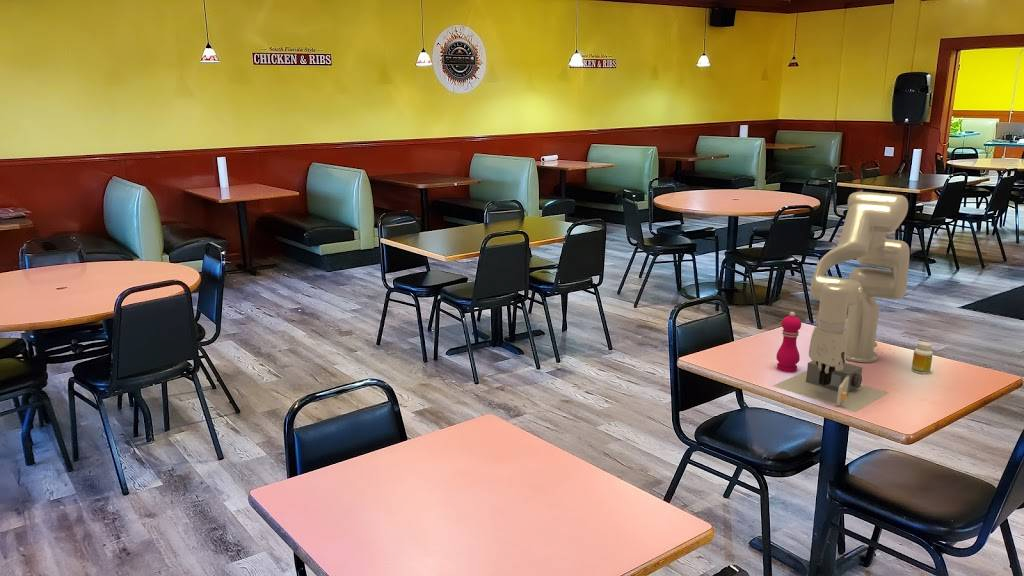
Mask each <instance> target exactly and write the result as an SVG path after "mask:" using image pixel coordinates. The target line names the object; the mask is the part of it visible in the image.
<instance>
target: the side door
mask: <svg viewBox="0 0 1024 576" xmlns="http://www.w3.org/2000/svg"><path fill="white" fill-rule="evenodd" d="M849 382H850V376H849V375H846V378H845V379H844V380H843V382H842V383H841V384H840V386H839V389H838V397H837V405H840V404H841V402H842V401H843V400H844V401H846V399H847V395H848V390H849Z"/></svg>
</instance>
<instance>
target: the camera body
mask: <svg viewBox="0 0 1024 576" xmlns="http://www.w3.org/2000/svg"><path fill="white" fill-rule="evenodd" d="M806 371H807V376H806V382H808V383H811V384H814V385H818V386H821V387H824V388H828V389H831V390H834V391H838V389H839V386H840V384H841V383H842V382H843V380H844V379H845V378H846V375H849V376H850V382H849V390H848V393H849V392H851V391H853V390H855V389H857V388H859V387H860V385H862V381H863V376H862V374H863V367H862V366H858V365H854V364H851V363H847V362H845V364H843V370H841V371H836V370H835V371H834V372H832V377H831V383H830V384H828V385H825V386H823V385H822V384H819V375H820V371H819V370H818V366H817V364H816V363H815V362H814V361H812V360H810V361H809V362H807V367H806Z"/></svg>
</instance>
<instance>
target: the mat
mask: <svg viewBox="0 0 1024 576" xmlns="http://www.w3.org/2000/svg"><path fill="white" fill-rule="evenodd" d="M806 376H807V370H805V371H802V372H801V373H798V374H796V375H793V376H791V377H789V378H785V380H782V381H780V382H778V383H775V384H773V385H772V386H773V387H774V388H775V387H776V388H779V389H781V390H785V391H787V392H791V393H794V394H796V395H800V396H803V397H807V398H809V399H812V400H817V401H819V402H822V403H825V404H829V405H832V406H835V407H837V408H841V409H844V410H848V411H850V412H854V413H856V412H857V411H859V410H861V409H863V408H865V407H866V406H868V405H869V406H870V404H872V403H874V402H875V401H878V400H879V399H881V398H882V397H883V398H884V397H885V396H886V395H888V394H889V392H886V391H883V390H880V389H876V388H873V387H869V386H867V385H863V384H861V385H860V387H859V388H857V389H855V390H853V391H851V392H849V393H848V395H847V399H846V401H844V400H843V401H842V402H841V404H840V405H837V397H838V391H834V390H831V389H828V388H824V387H821V386H818V385H814V384H811V383H808V382H806Z"/></svg>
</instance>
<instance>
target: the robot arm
mask: <svg viewBox="0 0 1024 576" xmlns="http://www.w3.org/2000/svg"><path fill="white" fill-rule="evenodd" d="M847 208H848V210H847V213H846V215H845V220H844V223H843V227H842V229H841V234H840V236H839V237H840V238H839V241H838V244H837V246H835V247H834V248H832V249H831V250H829V251H828V252H827V253H825V254H824V255H823V256H822V257H821V258H820V259H819V260H818V262H817V264H816V266H815V269H814V272H813V275H812V279H811V282H810V289H809V291H810V296H811V297H812V298H813V299H814V300H817V301H819V308H818V314H817V315H818V316H817V317H816V318H815V322H817V325H815V326H814V327H813V331H812V334H811V337H810V342H809V348H808V357H809V358H810V359H811V360H810V361H814V362H815V363H816V364H817V366H818V370H819V371H820V375H819V384H822V385H823V386H825V385H828V384H830V383H831V377H832V372H834V371H835V370H836V371H841V370H843V364H845V363H846V360H847V361H850V362H851V361H852V362H856V363H864V364H865V363H866V364H867V363H868V364H869V363H874V362H877V361H878V360H879V355H878V354H877V353H876V352H875V348H877V346H878V343H877V342H876V339H877V331H878V324H879V323H878V322H879V315H880V307H879V305H878V303H877V301H876V299H875V298H877V299H878V298H879V299H885V300H894V301H896V300H897V301H898V300H902V299H903V298H904V296H905V295H906V291H907V287H908V285H907V284H908V276H909V266H910V252H911V251H910V247H909V244H908V243H907V242H905V241H903V240H900V239H889V238H887V236H886V235H887V233H894V232H895V231H896V230H897V229H898V228H899V226H900V225H901V224H902V223H903V221H904V220H905V218H906V217H907V214H908V211H909V201H908V198H906V196H904V195H902V194H894V193H893V194H892V193H881V192H869V191H856V192H852V193H851V194H849V196H848V198H847ZM855 259H856V261H857V263H859V264H861V265H862V266H863V267H862V266H860V267H856V268H854V269H852V271H850V274H849V277H848V278H843V277H837V276H836V277H835V276H831V275H826V274H827V272H828V271H829V270H830V269H831V268H832V267H834V266H836V265H837V264H840V263H843V262H848V261H851V260H855Z"/></svg>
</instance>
